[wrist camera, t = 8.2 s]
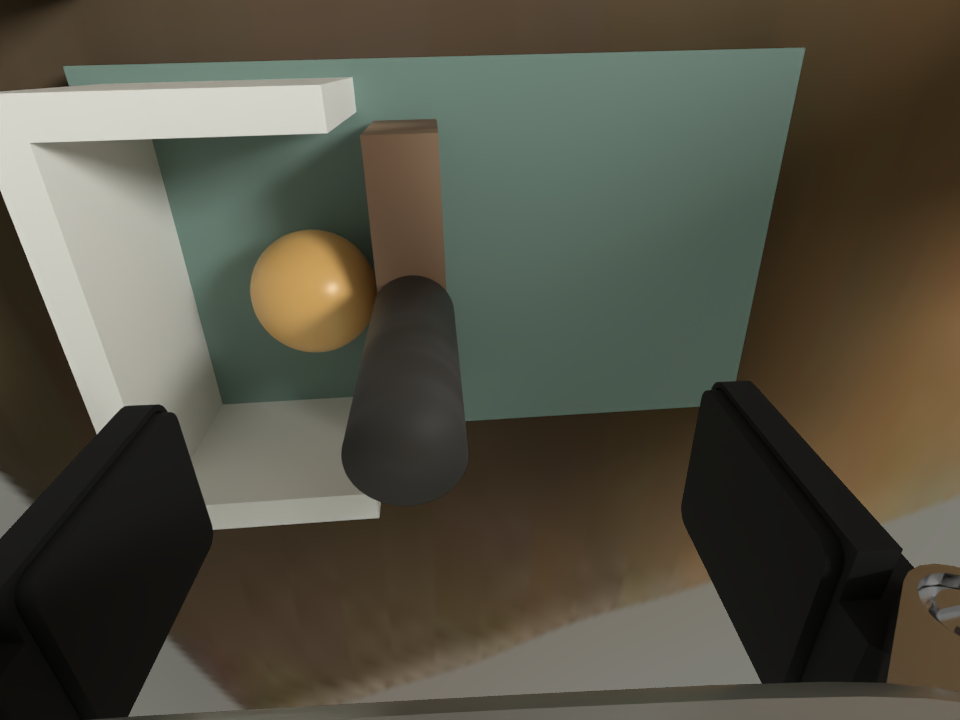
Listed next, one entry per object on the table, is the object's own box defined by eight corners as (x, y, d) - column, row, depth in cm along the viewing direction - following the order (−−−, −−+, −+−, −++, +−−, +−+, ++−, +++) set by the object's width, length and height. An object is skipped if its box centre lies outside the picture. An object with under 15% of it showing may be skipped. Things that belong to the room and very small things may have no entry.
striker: (442, 118, 19) (458, 184, 9) (455, 389, 23) (475, 629, 13) (366, 120, 18) (297, 191, 9) (395, 392, 23) (370, 637, 13)
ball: (221, 253, 16) (255, 219, 20) (250, 378, 18) (277, 326, 22) (365, 246, 17) (374, 213, 20) (379, 370, 18) (385, 319, 22)
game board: (780, 48, 20) (955, 43, 13) (715, 386, 26) (812, 498, 20) (89, 65, 19) (-99, 69, 12) (193, 418, 25) (108, 549, 18)
